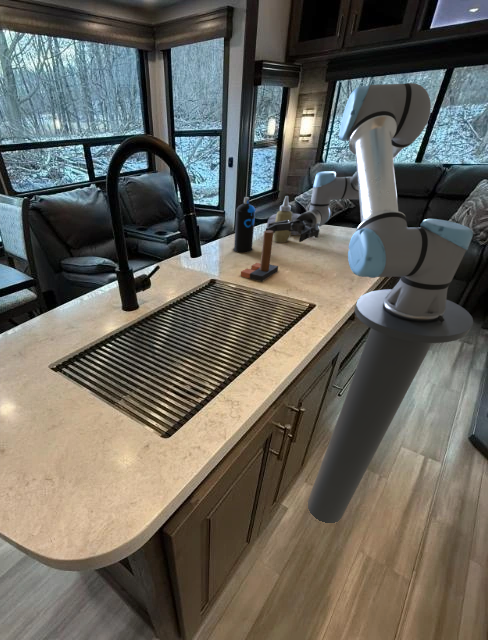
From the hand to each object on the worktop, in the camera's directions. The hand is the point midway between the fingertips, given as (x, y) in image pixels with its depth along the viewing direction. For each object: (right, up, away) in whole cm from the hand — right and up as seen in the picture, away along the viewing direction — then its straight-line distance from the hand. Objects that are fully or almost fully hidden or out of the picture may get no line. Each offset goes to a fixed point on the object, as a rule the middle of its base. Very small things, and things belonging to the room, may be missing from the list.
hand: (283, 235), depth 120 cm
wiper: (-6, -13, +3) cm, 15 cm away
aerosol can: (-10, +6, +26) cm, 28 cm away
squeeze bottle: (+8, +14, +33) cm, 37 cm away
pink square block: (-8, -10, +7) cm, 14 cm away
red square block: (-12, -14, +3) cm, 19 cm away
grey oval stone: (+15, +24, +44) cm, 53 cm away
